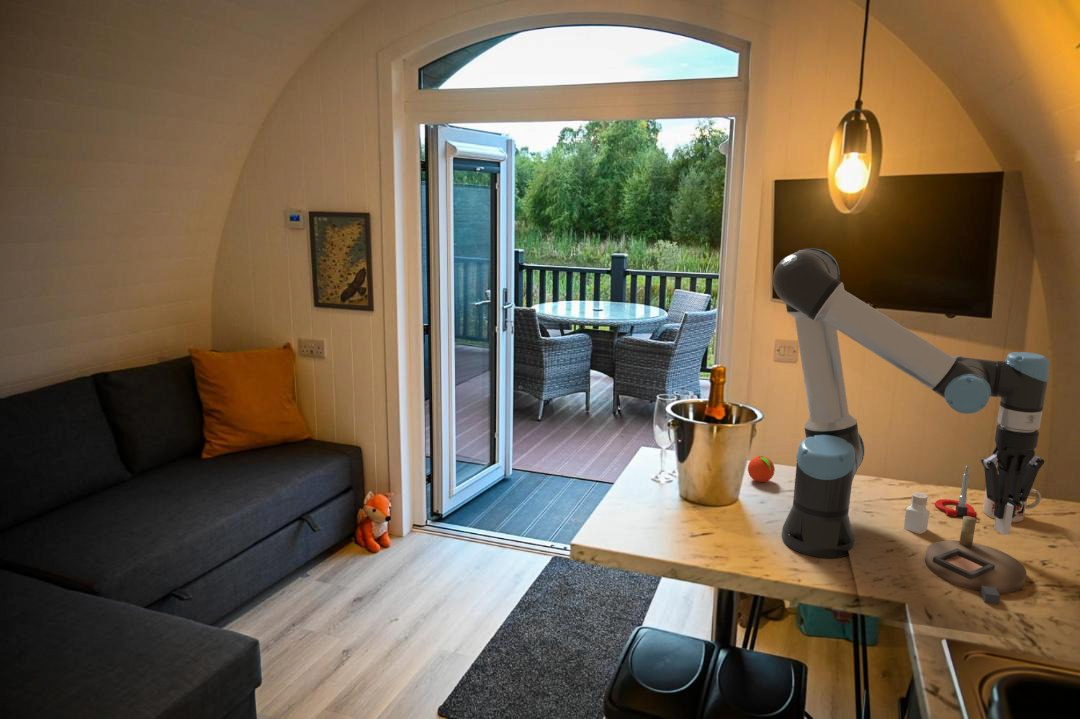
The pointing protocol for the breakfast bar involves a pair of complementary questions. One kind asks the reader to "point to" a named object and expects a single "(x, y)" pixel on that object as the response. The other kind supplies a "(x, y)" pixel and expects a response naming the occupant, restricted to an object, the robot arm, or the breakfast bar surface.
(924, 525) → the pepper shaker
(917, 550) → the breakfast bar surface
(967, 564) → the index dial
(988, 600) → the charcoal grey block
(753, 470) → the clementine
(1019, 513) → the teacup with lid
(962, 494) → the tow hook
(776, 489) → the breakfast bar surface
